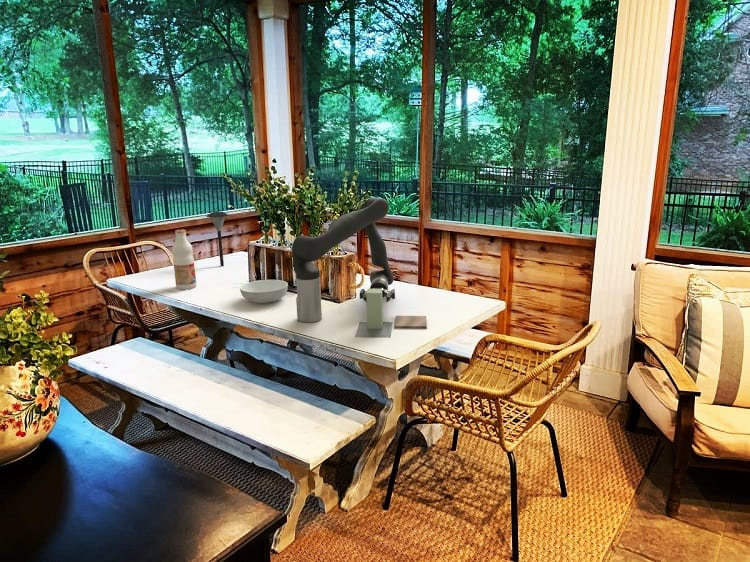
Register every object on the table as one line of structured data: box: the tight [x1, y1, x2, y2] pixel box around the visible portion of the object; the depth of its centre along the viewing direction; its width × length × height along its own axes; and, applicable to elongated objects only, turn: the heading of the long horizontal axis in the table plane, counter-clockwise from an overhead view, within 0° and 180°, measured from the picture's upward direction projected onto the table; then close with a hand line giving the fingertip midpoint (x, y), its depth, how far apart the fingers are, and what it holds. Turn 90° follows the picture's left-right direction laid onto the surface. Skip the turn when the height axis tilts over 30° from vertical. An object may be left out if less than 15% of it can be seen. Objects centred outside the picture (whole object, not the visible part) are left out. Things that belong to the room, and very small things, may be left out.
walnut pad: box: [394, 315, 428, 330], centre depth 219 cm, size 12×12×1 cm
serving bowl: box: [239, 279, 289, 304], centre depth 251 cm, size 21×21×7 cm
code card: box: [354, 321, 393, 339], centre depth 213 cm, size 13×17×1 cm
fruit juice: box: [171, 229, 197, 290], centre depth 271 cm, size 9×9×28 cm
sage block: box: [366, 288, 384, 329], centre depth 214 cm, size 6×6×14 cm
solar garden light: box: [206, 211, 230, 267], centre depth 311 cm, size 12×12×30 cm
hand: (376, 299), depth 223 cm, fingers open, 8 cm apart
